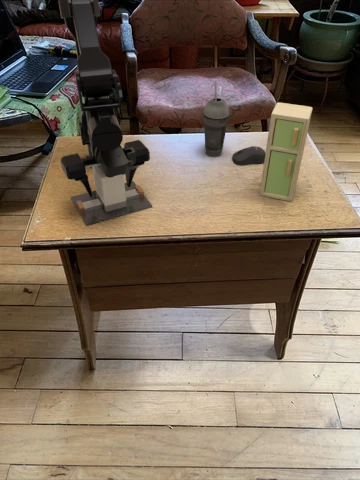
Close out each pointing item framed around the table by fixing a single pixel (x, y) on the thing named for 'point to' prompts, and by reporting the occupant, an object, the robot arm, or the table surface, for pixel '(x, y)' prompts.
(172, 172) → the table surface
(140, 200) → the rail
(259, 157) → the computer mouse
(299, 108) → the toy refrigerator
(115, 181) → the rail module
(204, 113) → the beverage cup
